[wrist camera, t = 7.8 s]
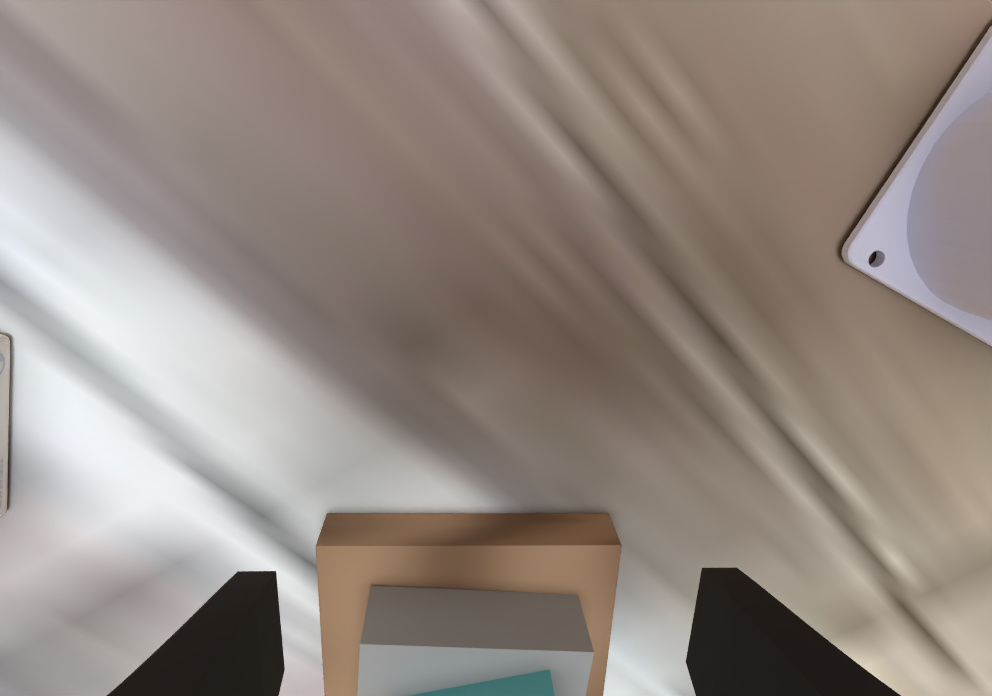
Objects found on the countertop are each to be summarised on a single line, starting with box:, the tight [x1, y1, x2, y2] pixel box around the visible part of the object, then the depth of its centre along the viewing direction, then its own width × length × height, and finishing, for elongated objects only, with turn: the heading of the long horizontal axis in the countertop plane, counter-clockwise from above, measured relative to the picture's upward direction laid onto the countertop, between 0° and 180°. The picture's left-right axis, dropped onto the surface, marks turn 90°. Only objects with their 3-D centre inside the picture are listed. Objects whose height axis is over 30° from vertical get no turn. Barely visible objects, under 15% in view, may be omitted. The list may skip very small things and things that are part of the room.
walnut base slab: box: [316, 513, 622, 696], centre depth 23 cm, size 10×10×2 cm
